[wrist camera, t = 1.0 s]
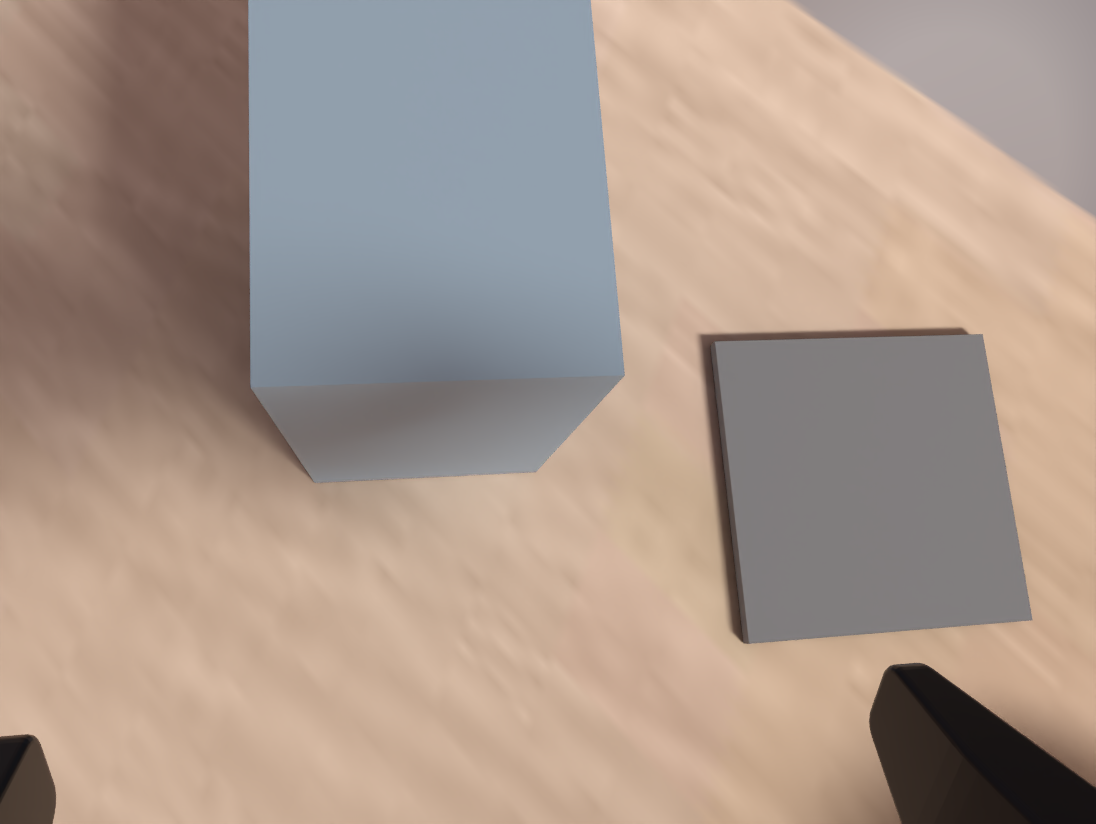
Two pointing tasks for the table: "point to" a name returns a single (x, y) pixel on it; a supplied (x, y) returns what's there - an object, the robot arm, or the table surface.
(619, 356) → the grey rectangular block
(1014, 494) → the table surface
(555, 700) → the table surface
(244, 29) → the table surface
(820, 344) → the pad
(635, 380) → the table surface
